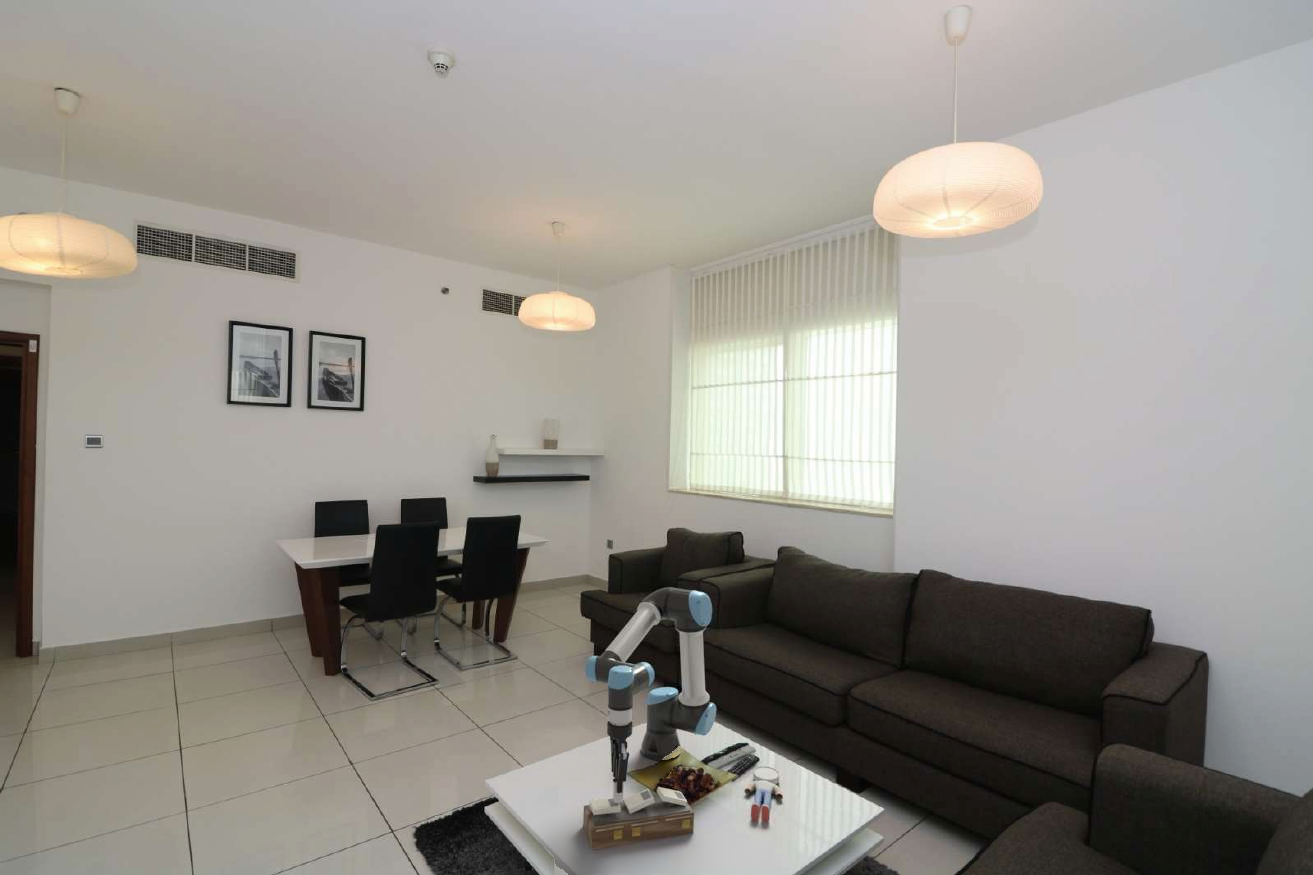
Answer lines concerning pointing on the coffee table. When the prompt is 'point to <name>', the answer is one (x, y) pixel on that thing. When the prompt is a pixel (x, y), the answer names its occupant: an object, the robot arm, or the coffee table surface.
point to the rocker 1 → (604, 806)
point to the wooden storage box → (637, 824)
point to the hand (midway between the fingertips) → (618, 801)
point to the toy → (763, 791)
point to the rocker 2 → (671, 796)
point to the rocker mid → (639, 801)
